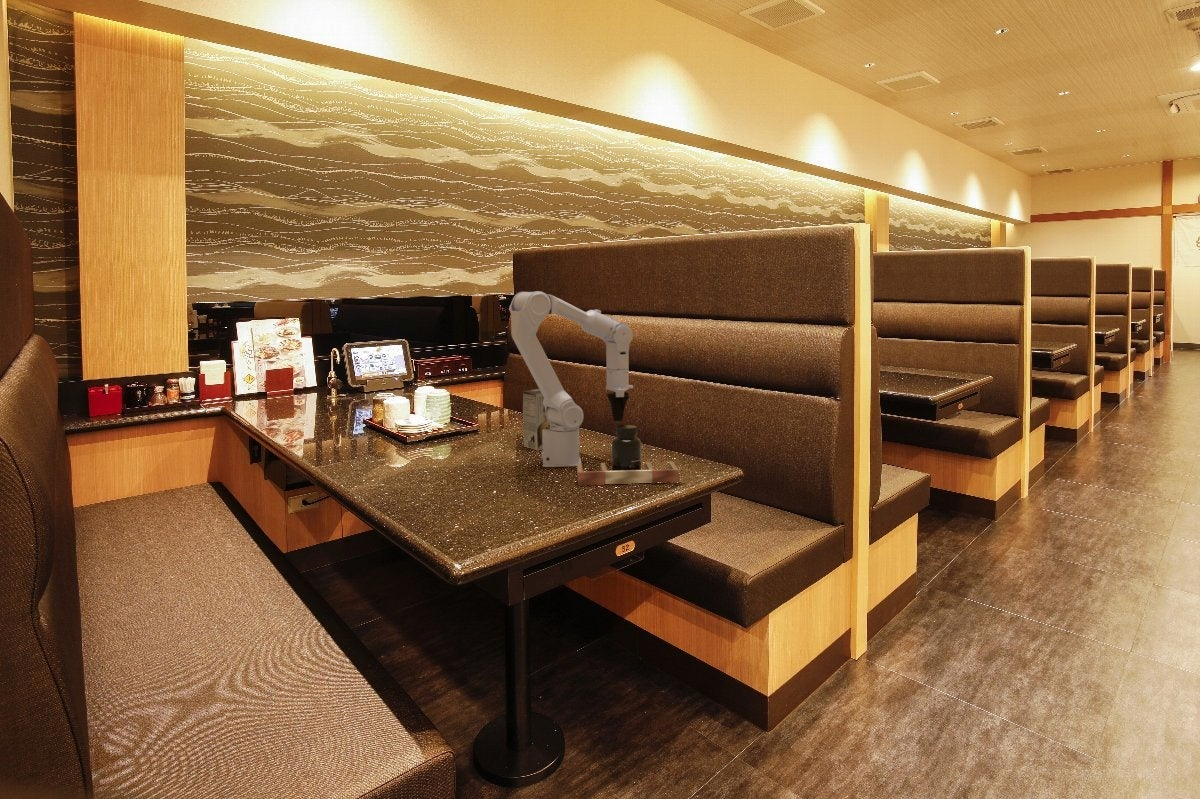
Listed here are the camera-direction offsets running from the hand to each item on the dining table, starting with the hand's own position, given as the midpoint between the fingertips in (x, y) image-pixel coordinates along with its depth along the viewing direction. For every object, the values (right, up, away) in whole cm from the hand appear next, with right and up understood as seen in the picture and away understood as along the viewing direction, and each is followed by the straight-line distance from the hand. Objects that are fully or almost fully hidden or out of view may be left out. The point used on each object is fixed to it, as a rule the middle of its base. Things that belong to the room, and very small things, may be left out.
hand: (617, 420), depth 181 cm
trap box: (+1, -13, -22) cm, 25 cm away
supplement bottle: (+1, -13, -20) cm, 24 cm away
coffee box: (-21, -8, +13) cm, 26 cm away
